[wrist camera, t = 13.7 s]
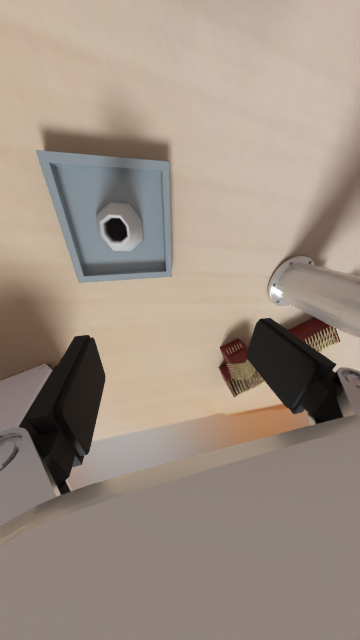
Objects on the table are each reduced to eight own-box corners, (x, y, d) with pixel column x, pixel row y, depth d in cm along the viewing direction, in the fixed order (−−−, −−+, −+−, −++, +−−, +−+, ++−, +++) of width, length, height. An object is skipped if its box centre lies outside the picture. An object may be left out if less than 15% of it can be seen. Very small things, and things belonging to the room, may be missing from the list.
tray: (166, 166, 24) (169, 161, 22) (169, 273, 32) (171, 276, 30) (45, 157, 21) (35, 150, 19) (83, 278, 29) (79, 282, 27)
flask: (87, 209, 24) (62, 201, 16) (133, 194, 24) (132, 178, 16) (111, 258, 28) (101, 272, 20) (150, 244, 28) (157, 252, 20)
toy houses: (226, 384, 58) (241, 411, 49) (209, 347, 46) (226, 375, 38) (338, 327, 57) (374, 345, 49) (350, 276, 46) (399, 287, 37)
